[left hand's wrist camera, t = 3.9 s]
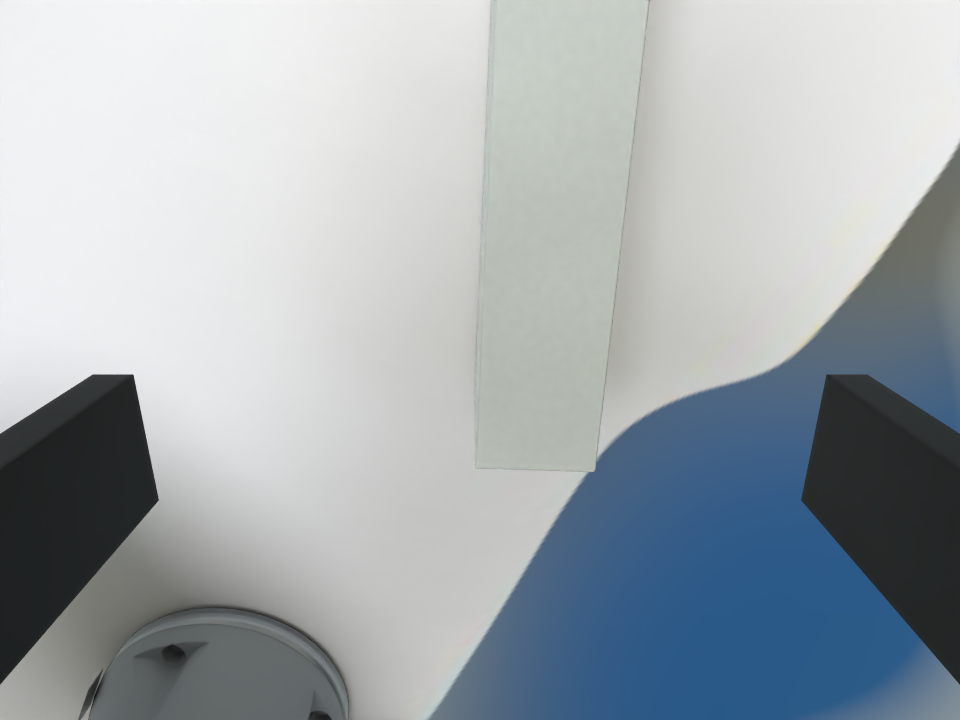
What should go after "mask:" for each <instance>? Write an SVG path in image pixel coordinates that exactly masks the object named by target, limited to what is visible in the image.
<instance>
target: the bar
mask: <svg viewBox="0 0 960 720" xmlns="http://www.w3.org/2000/svg"><path fill="white" fill-rule="evenodd" d="M649 1H650V0H491V13H490V37H489V62H488V86H487V110H486V134H485V158H484V183H483V207H482V231H481V255H480V279H479V304H478V328H477V352H476V376H475V467H476V468H486V469H518V470H549V471H581V472H594V471H595V468H596V459H597V450H598V442H599V433H600V425H601V416H602V407H603V399H604V390H605V381H606V373H607V364H608V355H609V347H610V338H611V329H612V321H613V312H614V304H615V295H616V286H617V278H618V269H619V260H620V252H621V243H622V234H623V226H624V217H625V209H626V200H627V191H628V183H629V174H630V165H631V157H632V148H633V139H634V131H635V122H636V113H637V105H638V96H639V88H640V79H641V70H642V62H643V53H644V44H645V36H646V27H647V18H648V10H649Z"/></svg>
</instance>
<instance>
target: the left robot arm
mask: <svg viewBox="0 0 960 720" xmlns="http://www.w3.org/2000/svg"><path fill="white" fill-rule="evenodd" d="M801 500H802V502H803V503H804V504H805V505H806V506H807V507H808V509H809V510H810V511H811V512H812V513H813V514H814V516H815V517H816V518H817V519H818V520H819V521H820V523H821V524H822V525H823V526H824V527H825V528H826V530H827V531H828V532H829V533H830V534H831V535H832V537H833V538H834V539H835V540H836V541H837V542H838V543H839V545H840V546H841V547H842V548H843V549H844V550H845V552H846V553H847V554H848V555H849V556H850V557H851V559H852V560H853V561H854V562H855V563H856V564H857V566H858V567H859V568H860V569H861V570H862V571H863V573H864V574H865V575H866V576H867V577H868V578H869V580H870V581H871V582H872V583H873V584H874V585H875V586H876V588H877V589H878V590H879V591H880V592H881V593H882V595H883V596H884V597H885V598H886V599H887V600H888V602H889V603H890V604H891V605H892V606H893V607H894V609H895V610H896V611H897V612H898V613H899V614H900V615H901V617H902V618H903V619H904V620H905V621H906V623H907V624H908V625H909V626H910V627H911V628H912V629H913V631H914V632H915V633H916V634H917V635H918V636H919V638H920V639H921V640H922V641H923V642H924V643H925V645H926V646H927V647H928V648H929V649H930V650H931V652H932V653H933V654H934V655H935V656H936V657H937V659H938V660H939V661H940V662H941V663H942V664H943V665H944V667H945V668H946V669H947V670H948V671H949V672H950V674H951V675H952V676H953V677H954V678H955V679H956V681H957V682H958V683H959V684H960V434H959V433H958V432H956V431H954V430H953V429H951V428H950V427H948V426H947V425H945V424H944V423H942V422H940V421H939V420H937V419H936V418H934V417H933V416H931V415H929V414H928V413H926V412H925V411H923V410H922V409H920V408H919V407H917V406H915V405H914V404H912V403H911V402H909V401H908V400H906V399H904V398H903V397H901V396H900V395H898V394H897V393H895V392H894V391H892V390H890V389H889V388H887V387H886V386H884V385H883V384H881V383H879V382H878V381H876V380H875V379H873V378H872V377H870V376H869V375H827V376H826V380H825V385H824V390H823V395H822V400H821V405H820V410H819V415H818V420H817V425H816V430H815V435H814V440H813V445H812V450H811V455H810V460H809V464H808V469H807V474H806V479H805V484H804V489H803V494H802V499H801ZM158 501H159V499H158V494H157V489H156V484H155V479H154V474H153V469H152V464H151V460H150V455H149V450H148V445H147V440H146V435H145V430H144V425H143V420H142V415H141V410H140V405H139V400H138V395H137V390H136V385H135V380H134V375H91V376H90V377H88V378H87V379H85V380H84V381H82V382H81V383H79V384H77V385H76V386H74V387H73V388H71V389H70V390H68V391H66V392H65V393H63V394H62V395H60V396H59V397H57V398H56V399H54V400H52V401H51V402H49V403H48V404H46V405H45V406H43V407H41V408H40V409H38V410H37V411H35V412H34V413H32V414H31V415H29V416H27V417H26V418H24V419H23V420H21V421H20V422H18V423H16V424H15V425H13V426H12V427H10V428H9V429H7V430H6V431H4V432H2V433H1V434H0V684H1V683H2V682H3V681H4V679H5V678H6V677H7V676H8V675H9V674H10V672H11V671H12V670H13V669H14V668H15V667H16V666H17V664H18V663H19V662H20V661H21V660H22V659H23V657H24V656H25V655H26V654H27V653H28V652H29V650H30V649H31V648H32V647H33V646H34V645H35V643H36V642H37V641H38V640H39V639H40V638H41V636H42V635H43V634H44V633H45V632H46V631H47V629H48V628H49V627H50V626H51V625H52V624H53V623H54V621H55V620H56V619H57V618H58V617H59V616H60V614H61V613H62V612H63V611H64V610H65V609H66V607H67V606H68V605H69V604H70V603H71V602H72V600H73V599H74V598H75V597H76V596H77V595H78V593H79V592H80V591H81V590H82V589H83V588H84V586H85V585H86V584H87V583H88V582H89V581H90V580H91V578H92V577H93V576H94V575H95V574H96V573H97V571H98V570H99V569H100V568H101V567H102V566H103V564H104V563H105V562H106V561H107V560H108V559H109V557H110V556H111V555H112V554H113V553H114V552H115V550H116V549H117V548H118V547H119V546H120V545H121V544H122V542H123V541H124V540H125V539H126V538H127V537H128V535H129V534H130V533H131V532H132V531H133V530H134V528H135V527H136V526H137V525H138V524H139V523H140V521H141V520H142V519H143V518H144V517H145V516H146V514H147V513H148V512H149V511H150V510H151V509H152V507H153V506H154V505H155V504H156V503H157V502H158ZM102 671H103V670H102ZM102 671H101V673H100V674H99V675H98V677H97V678H96V680H95V681H94V683H93V684H92V686H91V687H90V689H89V690H88V693H87V696H86V699H85V701H84V704H83V707H82V710H81V713H80V716H79V719H78V720H81V718H82V717H83V715H84V714H85V712H86V711H87V709H88V708H89V706H90V705H91V702H92V700H93V703H92V707H91V711H90V715H89V718H88V720H348V712H349V706H348V697H347V692H346V689H345V686H344V683H343V680H342V678H341V676H340V674H339V672H338V671H337V669H336V667H335V665H334V664H333V663H332V661H331V660H330V659H329V658H328V656H327V655H326V654H325V653H324V652H323V651H322V650H321V649H320V648H319V647H318V646H317V645H316V644H315V643H313V642H312V641H311V640H310V639H308V638H307V637H306V636H304V635H303V634H301V633H300V632H298V631H296V630H295V629H293V628H291V627H289V626H287V625H286V624H284V623H281V622H279V621H277V620H274V619H272V618H269V617H266V616H263V615H260V614H256V613H252V612H248V611H243V610H237V609H228V608H200V609H192V610H185V611H181V612H177V613H173V614H170V615H167V616H164V617H162V618H159V619H157V620H155V621H153V622H151V623H149V624H148V625H146V626H144V627H143V628H141V629H140V630H139V631H137V632H136V633H135V634H134V635H132V636H131V637H130V638H129V639H128V640H127V641H126V643H125V644H124V645H123V646H122V647H121V649H120V650H119V652H118V653H117V655H116V656H115V658H114V659H113V661H112V662H111V664H110V665H109V667H108V668H107V670H106V672H105V674H104V676H103V678H102V680H101V682H100V684H99V686H98V688H97V685H98V682H99V679H100V677H101V674H102ZM96 688H97V691H96ZM95 691H96V693H95ZM94 694H95V696H94ZM93 697H94V699H93Z"/></svg>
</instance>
